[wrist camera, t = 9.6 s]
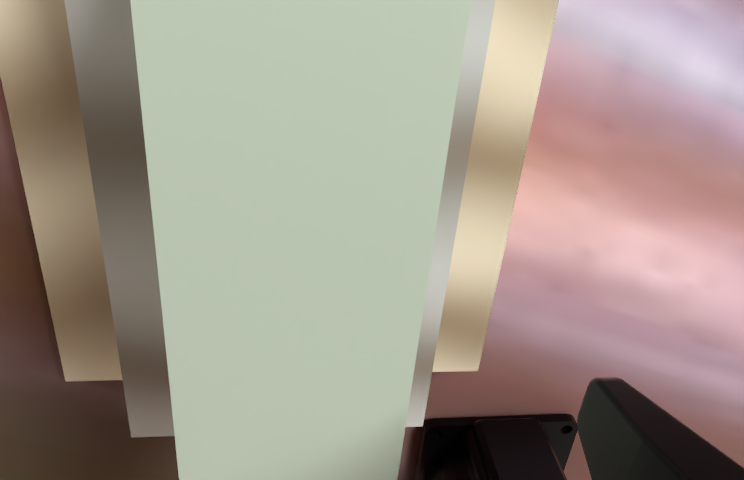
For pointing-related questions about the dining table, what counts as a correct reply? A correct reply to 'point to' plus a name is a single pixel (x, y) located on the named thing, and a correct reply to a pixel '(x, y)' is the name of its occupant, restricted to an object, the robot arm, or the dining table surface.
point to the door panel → (294, 222)
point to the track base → (133, 204)
